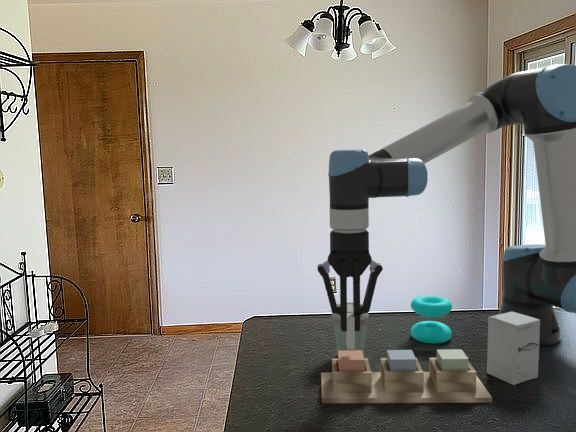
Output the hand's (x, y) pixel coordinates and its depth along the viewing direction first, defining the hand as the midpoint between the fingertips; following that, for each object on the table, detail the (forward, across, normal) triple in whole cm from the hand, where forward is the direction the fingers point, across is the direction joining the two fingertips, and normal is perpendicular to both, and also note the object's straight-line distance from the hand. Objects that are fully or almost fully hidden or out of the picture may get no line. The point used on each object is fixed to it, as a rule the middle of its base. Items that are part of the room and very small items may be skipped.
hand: (350, 346), depth 109 cm
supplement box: (+9, -34, -6) cm, 36 cm away
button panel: (+9, -10, 0) cm, 14 cm away
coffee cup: (+9, -1, -17) cm, 19 cm away
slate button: (+6, -10, 0) cm, 12 cm away
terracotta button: (+6, 0, 0) cm, 6 cm away
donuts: (+9, -22, -29) cm, 38 cm away
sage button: (+6, -20, 0) cm, 21 cm away
